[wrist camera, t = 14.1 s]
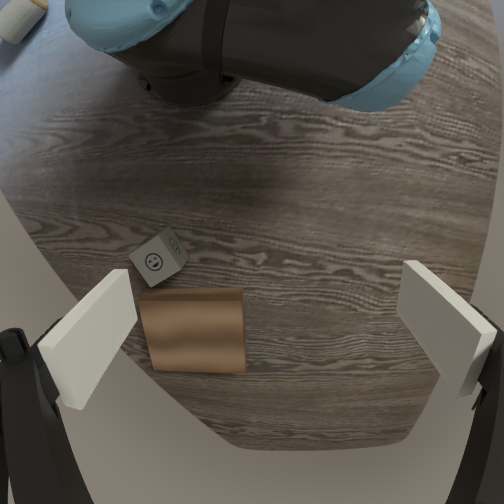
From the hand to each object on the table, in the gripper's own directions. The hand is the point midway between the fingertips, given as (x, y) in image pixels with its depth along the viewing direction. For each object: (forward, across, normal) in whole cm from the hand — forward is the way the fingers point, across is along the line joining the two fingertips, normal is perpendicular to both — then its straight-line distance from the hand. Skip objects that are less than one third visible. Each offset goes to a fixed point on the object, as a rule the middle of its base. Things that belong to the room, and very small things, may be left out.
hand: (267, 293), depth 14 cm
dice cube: (+24, -12, -9) cm, 28 cm away
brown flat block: (+27, -10, -18) cm, 34 cm away
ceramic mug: (+27, -37, +35) cm, 58 cm away
